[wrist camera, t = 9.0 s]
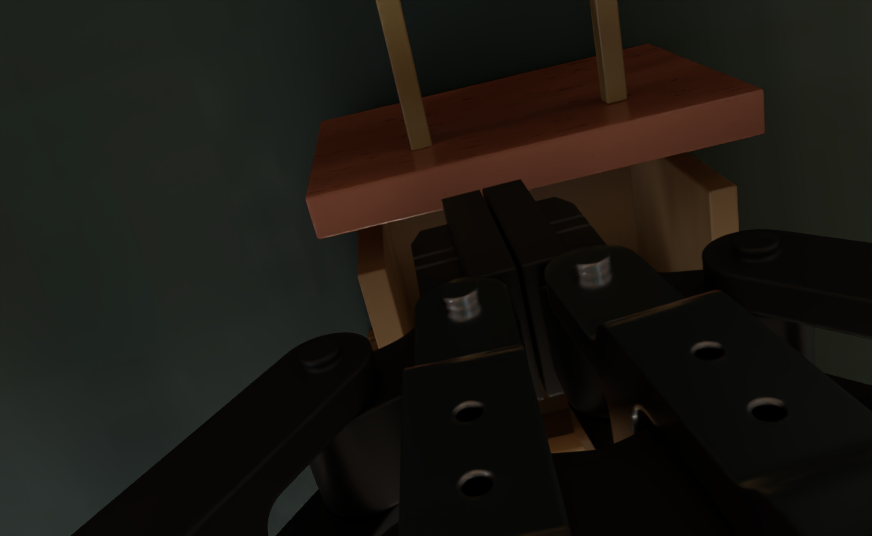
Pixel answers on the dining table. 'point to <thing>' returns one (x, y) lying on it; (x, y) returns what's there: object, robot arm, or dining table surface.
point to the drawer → (534, 160)
